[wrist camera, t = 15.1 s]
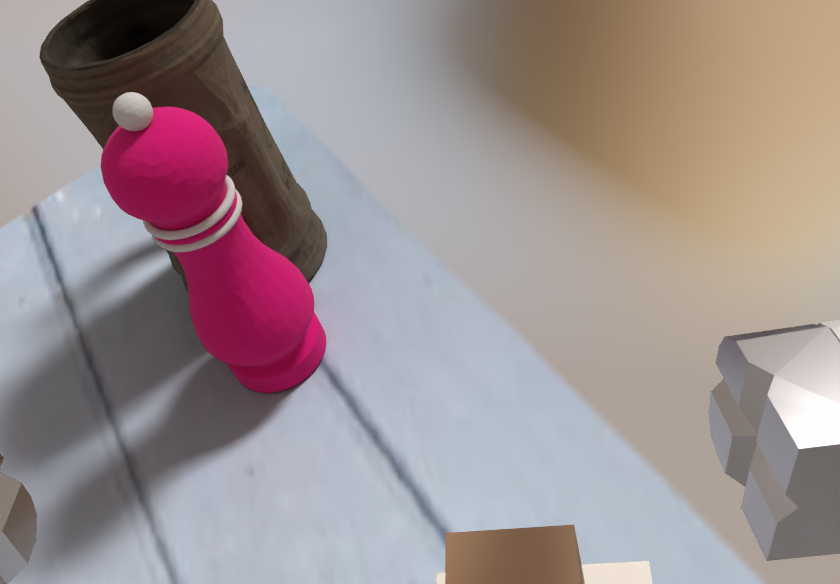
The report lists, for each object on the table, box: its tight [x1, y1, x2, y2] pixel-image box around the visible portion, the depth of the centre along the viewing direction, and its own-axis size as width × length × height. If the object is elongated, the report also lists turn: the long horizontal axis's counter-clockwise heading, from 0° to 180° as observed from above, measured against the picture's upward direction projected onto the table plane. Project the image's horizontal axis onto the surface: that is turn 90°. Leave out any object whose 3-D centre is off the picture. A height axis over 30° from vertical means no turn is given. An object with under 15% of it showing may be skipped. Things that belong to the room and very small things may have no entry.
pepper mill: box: [101, 92, 326, 393], centre depth 42 cm, size 7×7×20 cm
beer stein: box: [40, 0, 327, 293], centre depth 51 cm, size 15×11×20 cm
